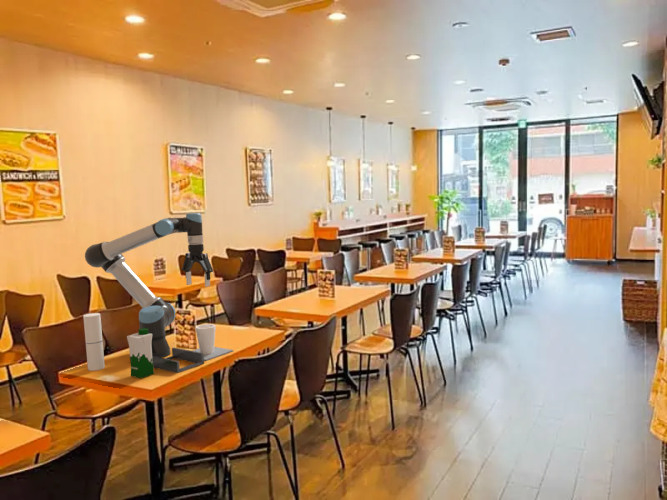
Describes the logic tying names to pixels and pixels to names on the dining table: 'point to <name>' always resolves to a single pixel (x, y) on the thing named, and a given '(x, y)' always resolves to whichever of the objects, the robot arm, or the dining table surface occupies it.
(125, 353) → the dining table surface
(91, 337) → the cylindrical container
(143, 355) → the milk carton
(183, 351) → the cup stand
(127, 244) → the robot arm
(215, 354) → the mat
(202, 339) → the foam cup
